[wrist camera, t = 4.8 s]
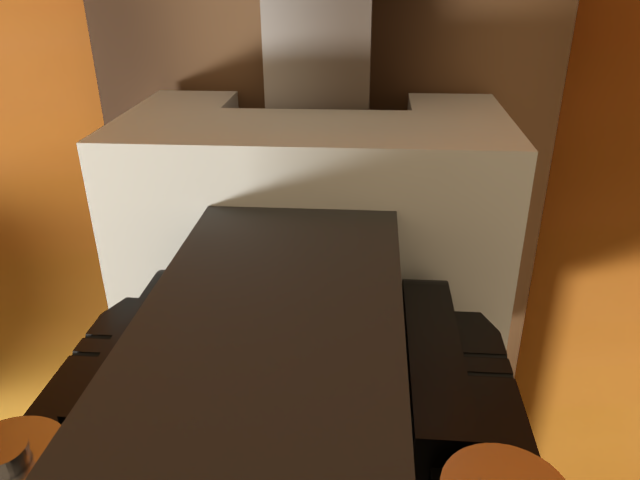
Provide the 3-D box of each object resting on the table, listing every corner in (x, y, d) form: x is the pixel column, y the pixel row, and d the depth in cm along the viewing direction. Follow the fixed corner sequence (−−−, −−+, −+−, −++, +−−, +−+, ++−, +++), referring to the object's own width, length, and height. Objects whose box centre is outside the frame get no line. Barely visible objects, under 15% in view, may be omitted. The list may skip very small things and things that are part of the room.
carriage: (491, 94, 12) (751, 419, 4) (463, 336, 15) (576, 848, 6) (159, 90, 13) (-272, 363, 4) (188, 324, 15) (-43, 778, 7)
